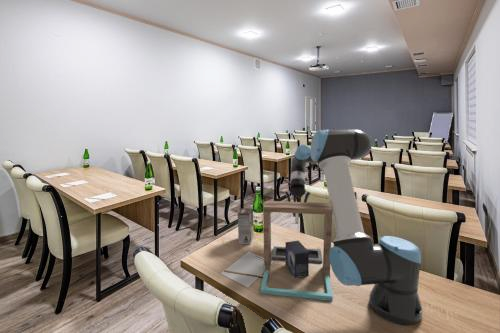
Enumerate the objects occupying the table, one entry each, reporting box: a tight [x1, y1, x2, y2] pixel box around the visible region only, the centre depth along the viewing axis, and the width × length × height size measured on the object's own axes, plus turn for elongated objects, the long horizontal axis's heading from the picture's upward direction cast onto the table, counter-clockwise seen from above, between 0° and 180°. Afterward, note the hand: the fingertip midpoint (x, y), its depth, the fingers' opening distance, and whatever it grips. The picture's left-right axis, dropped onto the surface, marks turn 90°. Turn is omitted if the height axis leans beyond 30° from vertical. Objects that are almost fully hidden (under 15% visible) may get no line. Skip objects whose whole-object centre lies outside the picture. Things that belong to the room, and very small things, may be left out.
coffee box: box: [237, 207, 255, 245], centre depth 137 cm, size 9×6×16 cm
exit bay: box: [259, 270, 334, 302], centre depth 100 cm, size 13×25×2 cm, turn 79°
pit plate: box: [271, 246, 323, 264], centre depth 122 cm, size 10×22×1 cm, turn 79°
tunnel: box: [262, 200, 333, 279], centre depth 108 cm, size 8×26×28 cm, turn 79°
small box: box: [285, 240, 310, 279], centre depth 110 cm, size 11×6×10 cm, turn 14°
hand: (296, 222), depth 129 cm, fingers closed
